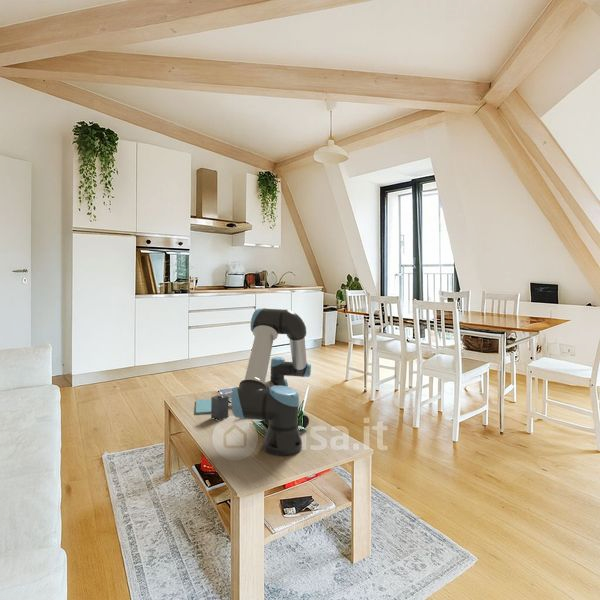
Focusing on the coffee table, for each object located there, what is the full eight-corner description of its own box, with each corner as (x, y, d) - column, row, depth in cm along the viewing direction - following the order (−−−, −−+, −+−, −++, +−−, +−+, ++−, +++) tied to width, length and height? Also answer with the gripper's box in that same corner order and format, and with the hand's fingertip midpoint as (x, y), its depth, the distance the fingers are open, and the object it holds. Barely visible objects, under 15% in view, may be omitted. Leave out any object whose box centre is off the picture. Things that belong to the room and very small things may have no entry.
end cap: (309, 429, 164) (309, 414, 164) (295, 432, 160) (296, 417, 160) (296, 421, 173) (297, 407, 172) (283, 424, 169) (284, 409, 168)
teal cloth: (221, 412, 180) (221, 410, 180) (195, 414, 177) (195, 412, 176) (219, 400, 197) (219, 398, 197) (196, 401, 194) (196, 399, 194)
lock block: (218, 421, 170) (218, 395, 169) (211, 418, 173) (211, 393, 172) (228, 417, 174) (228, 392, 174) (221, 414, 177) (221, 390, 177)
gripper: (282, 402, 189) (251, 413, 173) (248, 391, 205) (217, 401, 188) (282, 388, 189) (252, 398, 172) (248, 378, 204) (217, 386, 188)
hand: (234, 399), depth 180 cm, fingers open, 13 cm apart
